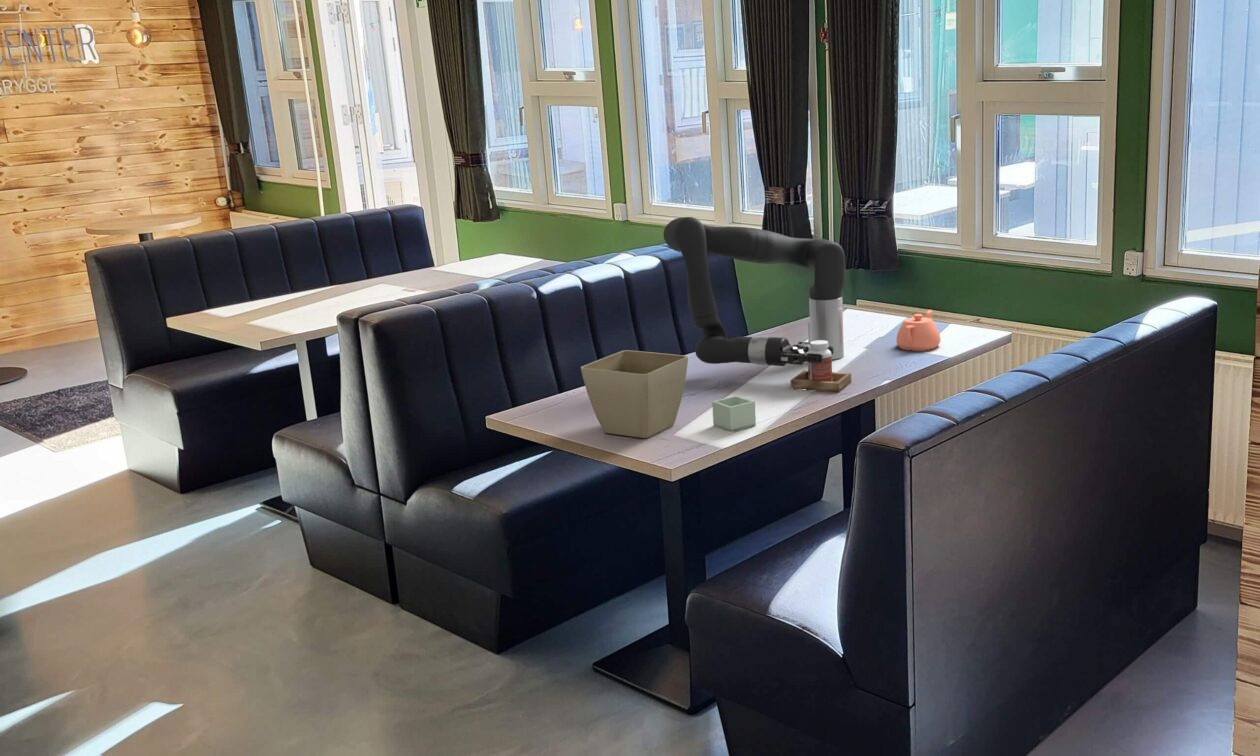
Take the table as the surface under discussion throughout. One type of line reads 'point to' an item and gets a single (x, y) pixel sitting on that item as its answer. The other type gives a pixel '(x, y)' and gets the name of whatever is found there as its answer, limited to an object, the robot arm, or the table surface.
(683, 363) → the flower pot
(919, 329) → the teapot
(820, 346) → the pill bottle
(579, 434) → the table surface
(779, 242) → the robot arm
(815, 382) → the tray
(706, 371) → the table surface
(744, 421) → the pale green bin
